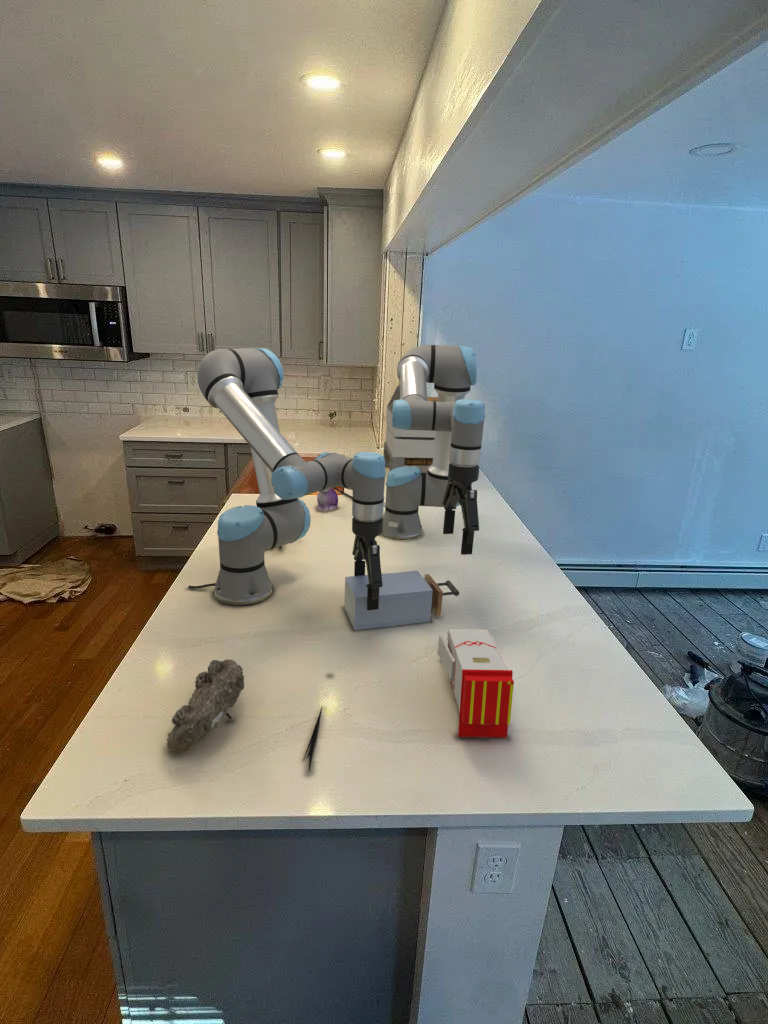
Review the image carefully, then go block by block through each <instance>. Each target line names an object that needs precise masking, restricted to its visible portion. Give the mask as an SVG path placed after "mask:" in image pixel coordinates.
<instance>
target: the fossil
mask: <svg viewBox="0 0 768 1024" xmlns="http://www.w3.org/2000/svg"><path fill="white" fill-rule="evenodd" d="M243 670H244V669H243V667H242V665H240V664H237V662H236V661H235V660H234V659H232V658H231V659H227V658H226V659H224V660H223V661H222V660H217V659H212V660H211V661H210V663H209V665H208V666H207V671H201V672H199V673H198V674H197V675H196V676H195V680H194V684H195V685H194V687H195V689H194V690H193V693H192V694H191V697H190V698H189V700H188V704H184V705H182V706H181V707H180V709H177V710H176V711H175V713H174V715H173V716H172V718H171V723H172V724H173V727H172V730H171V731H170V732H168V734H167V738H166V741H167V742H166V745H167V749H168V750H169V751H173V752H174V753H176V754H178V753H182V752H188V751H189V752H192V751H193V750H195V748H196V747H197V746H199V744H200V743H201V742H203V741H204V740H205V739H206V738H207V737H208V736H209V735H210V734H211V733H212V732H214V730H215V729H217V727H218V726H219V724H220V722H221V721H222V720H223V719H224V718H225V716H226V717H227V719H229V720H233V717H232V715H230V714H229V710H230V709H231V708H234V706H235V704H236V703H237V702H238V699H239V697H240V695H241V693H242V691H243V690H245V689H244V688H245V675H244V671H243Z"/></svg>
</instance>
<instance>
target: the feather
mask: <svg viewBox="0 0 768 1024" xmlns="http://www.w3.org/2000/svg"><path fill="white" fill-rule="evenodd" d="M329 675H330V676H331V675H332V674H331V673H330V674H329ZM322 710H323V707H321V708H320V710H319V713H318V716H317V719H316V723H315V725H314V728H313V731H312V733H311V737H310V739H309V742H308V745H307V748H306V751H305V754H304V757H303V760H302V763H301V767H302V765H303V763H304V761H305V758H308V759H309V760H308V762H307V763H308V764H307V766H308V771H310V770H311V766H312V765H311V764H312V760H313V757H315V756H314V755H315V751H316V749H315V746H317V739H318V733H319V729H320V722H321V717H322V712H323V711H322ZM313 754H314V755H313ZM306 755H307V757H306Z"/></svg>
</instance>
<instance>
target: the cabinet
mask: <svg viewBox="0 0 768 1024" xmlns="http://www.w3.org/2000/svg"><path fill="white" fill-rule="evenodd" d="M381 575H382V584H383V585H382V587H379V609H376V610H367V589H368V587H366V585H367V584H369V581H368V574H365V575H362V576H354V575H352V576H350V575H349V576H345V577H344V610H345V613H346V614H347V617H348V619H349V621H350V623H351V626H352V629H353V630H354V631H359V630H360V631H361V630H367V629H370V630H371V629H379V628H387V627H396V626H404V625H412V624H421V623H422V624H423V623H430V622H431V615H432V609H431V604H432V593H433V590H432V589H431V588H430V586H429V585H428V584H427V582H426V581H425V577H423V576H422V574H421V573H420V572H419V570H409V571H397V572H386V573H381Z"/></svg>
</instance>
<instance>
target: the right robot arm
mask: <svg viewBox="0 0 768 1024" xmlns="http://www.w3.org/2000/svg"><path fill="white" fill-rule="evenodd" d="M477 368H478V367H477V357H476V352H475V350H474V349H473V347H470V346H464V345H451V344H450V345H449V344H443V345H442V344H421V345H418V346H415V347H413V348H411V349H409V350H408V351H407V352H405V353H404V354H403V355H402V356H401V358H400V359H399V361H398V363H397V367H396V376H397V378H398V381H399V385H400V400H395V401H394V402H393V412H392V426H393V427H394V428H396V429H404V430H428V431H435V440H434V452H433V463H432V464H431V465H430V466H429V465H428V466H427V472H422V469H421V468H420V467H419V466H407V465H404V467H399V468H395V469H393V470H391V471H390V470H389V471H388V473H387V475H386V481H385V486H386V488H385V489H386V490H385V504H386V506H385V507H384V508H385V509H384V512H383V517H382V518H383V532H382V534H381V535H380V536H382V537H385V538H387V539H389V540H395V541H410V540H415V539H418V538H420V537H421V536H422V535H423V525H422V524H421V518H420V515H419V507H433V508H434V507H435V508H443V509H444V516H443V526H442V528H443V529H442V534H443V535H453V534H454V531H455V519H456V510H457V507H459V506H460V508H461V515H462V520H463V526H464V527H463V528H462V529H461V531H462V536H461V545H460V546H461V547H460V555H461V556H463V555H464V556H465V555H473V551H474V550H473V549H474V541H475V540H474V539H475V532H479V531H480V521H479V520H480V519H479V509H478V490H477V489H473V488H472V487H473V486H472V484H473V483H475V482H477V481H478V480H479V477H480V466H479V464H480V463H481V455H482V454H483V450H482V443H483V435H484V434H483V433H484V426H485V419H486V404H485V402H484V401H482V400H479V399H471V398H470V399H469V398H465V397H466V395H467V394H469V393H470V392H471V386H475V385H476V384H477V378H478V376H477V375H478V369H477ZM427 383H428V384H433V390H434V391H435V392H436V393H437V397H438V402H437V401H428V400H427V397H428V388H427ZM332 489H334V490H335V491H336V492H338V493H340V494H342V495H344V496H345V497H348V498H349V499H351V500H352V499H353V495H350V494H348V493H346V492H345V491H343V490H341V489H339V488H338V487H334V488H332Z"/></svg>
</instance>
